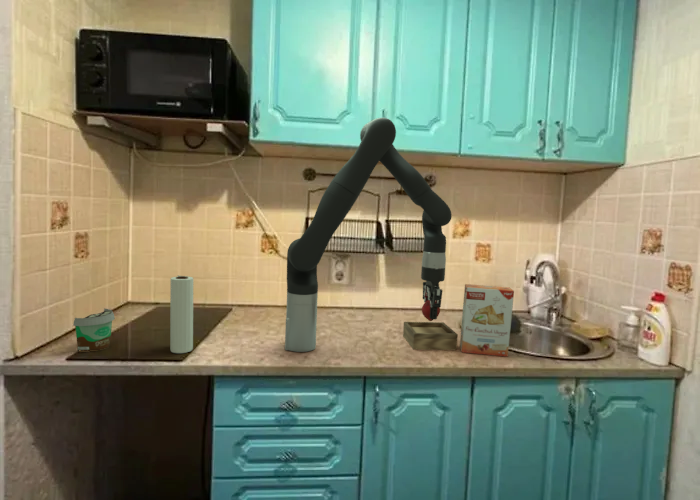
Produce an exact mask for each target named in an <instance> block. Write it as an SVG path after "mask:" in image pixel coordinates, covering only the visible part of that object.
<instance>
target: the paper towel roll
mask: <svg viewBox="0 0 700 500" xmlns="http://www.w3.org/2000/svg"><path fill="white" fill-rule="evenodd" d="M169 296H170V305H169V306H170V311H169V312H170V315H169V316H170V317H169V318H170V327H169V328H170V329H169V330H170V331H169V332H170V337H169V338H170V339H169V340H170V349H169V350H170V352H171V353H173V354H186V353H188V352H191V351H193V350H194V277H192V276H188V275H187V276H185V275H177V276H173V277H170V295H169Z"/></svg>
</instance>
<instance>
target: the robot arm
mask: <svg viewBox="0 0 700 500" xmlns="http://www.w3.org/2000/svg"><path fill="white" fill-rule="evenodd" d="M396 135H397V130H396V126H395V123H394V122H393V121H392V120H391V119H390V118H387V117H378V118H374V119H372V120H370V121H368V122H367V123H365V124H364V125H363V126H362V128H361V130H360V133H359V139H360V143H359V145H358V147H357V149H356V150H355V151H354V154H353V155H351V157H350V158H349V159H348V161H347V162H346V163H345V164H344V165H342V167H341V168H340V169H339V170H338V172H337V173H336V174H335V175H334V177H333V179H332V180H331V181H330V183H329V184H328V186H327V187H326V189H325V191H324V193H323V195H322V196H321V198H320V201H319V203H318V205H317V207H316V211H315V214H314V216H313V219H312V220H311V223H310V224H309V225H308V227H307V228H306V230H304V233H303V234H302V235H301V236H300V238H296V239H295V240H294V241H292V242H291V243H290V245H289V246H288V248H287V253H286V254H287V255H286V293H287V294H286V311H285V312H286V313H285V314H286V315H285V332H284V335H285V336H284V337H285V338H284V350H285V351H291V352H298V353H306V352H311V351H314V350H315V349H316V346H317V344H316V343H317V321H318V319H317V317H318V299H319V297H318V296H319V295H318V294H319V292H318V291H319V282H318V273H317V272H318V264H319V263H320V261H321V259H322V257H323V255H324V253H325V251H326V248H327V246H328V245H329V243H330V240H331V239H332V237H333V236H334V233H335V232H337V229H338V228H339V227H340V226H341V224H342V222H343V221H344V220H345V218H346V217H347V215H348V214H349V212H350V211H351V209H352V208H353V206H354V204H355V203H356V201H357V200H358V199H359V196H360V195H361V193H362V192H363V190H364V187H365V186H366V185H367V182H368V180H369V179H370V178H371V177H370V176H371V174H372V173H373V171H374V170H375V168H376V166H377V165H378V163H379V162H380V163H381V164H382V165H383V166H384V168H386V169H387V171H388V172H389V173H390V175H392V177H393V178H394V179H395V180H396V181H397V182H398V185H400V187H401V188H402V189H403V191H404V192H405V193H406V195H407V196H408V197H409V199H410V200H411V201H412V202H413V203H414V204H415V205H416V206H418V207H420V208H421V209H422V216H421V225H422V232H423V236H424V239H423V240H424V241H423V253H422V258H421V275H420V278H421V280H422V300H423V304H424V303H425V302H426V301H428V300H429V301H430V307H431V308H430V319H433V320H437V319H438V317H437V310H438V308H439V307H440V308H441V307H442V298H443V289H442V288H440V284H439V283H441V282H444V281H445V277H446V264H447V263H446V262H447V261H446V260H447V259H446V258H447V257H446V251H447V237H446V235H445V234H444V233H443V230H442V229H443V228H442V227H445V226H447V225H448V224H449V223H450V222H451V220H452V216H453V215H452V211H451V208H450V207H449V205H448V204H447V202H445V200H443V199H442V197H440V196H439V195H438V194H437V192H435V191H434V190H433V189H432V188H431V186H430V184H429V183H428V182H427V181H426V179H425V177H424V176H423V175H422V174H421V173H420V172H419V171H418V170H417V169H416V168H415V167H414V166H413V165H411V163H410V162H408V161H407V160H406V159H405V158H404V157H403V156H402V155H401V153H400V152H399V151H398V150H397V149H396V147H395V145H394V142H395V141H396V137H397V136H396ZM432 297H433V298H432ZM435 301H436V303H435Z"/></svg>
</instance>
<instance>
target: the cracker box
mask: <svg viewBox="0 0 700 500" xmlns="http://www.w3.org/2000/svg"><path fill="white" fill-rule="evenodd" d="M463 292H464V294H463V303H462V304H463V306H462V316H461V329H460V339H459V348H460V350H461V353H466V354H477V355H484V356H495V357H496V356H497V357H508V356H509V346H510V337H511V326H512V317H513V305H514V294H515V290H513V289H512V288H511V287H507V286H496V285H495V286H493V285H483V284H470V283H469V284H467V283H465V284H464V291H463Z"/></svg>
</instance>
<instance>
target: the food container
mask: <svg viewBox="0 0 700 500" xmlns="http://www.w3.org/2000/svg"><path fill="white" fill-rule="evenodd" d="M115 319H116V318H115V314H114V312H113V310H111V309H109V308H103V311H102V312H99V313H93V314H89V315H87V316H85V317H75V318H74V319H73V323H72V325H73V326H74V327H75V328H74V329H75V336H76V346H77V351H78V350H81V351H83V350H84V351H87V350H88V351H90V350H100V349H104V348H107V347H108V348H110V347H109V346H111V338H112V337H111V335H112V327H113V326H112V324H113V321H114V320H115ZM108 348H107V349H108ZM104 350H105V349H104Z"/></svg>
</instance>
